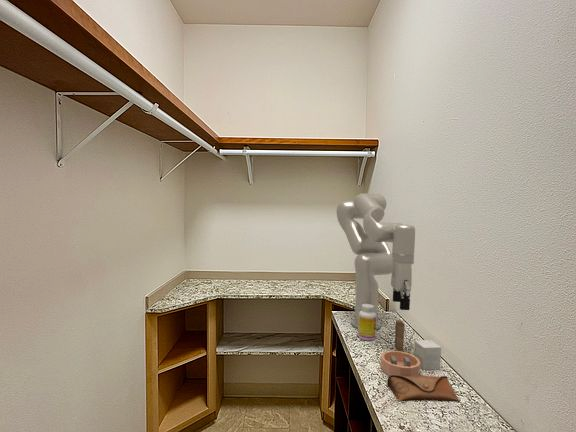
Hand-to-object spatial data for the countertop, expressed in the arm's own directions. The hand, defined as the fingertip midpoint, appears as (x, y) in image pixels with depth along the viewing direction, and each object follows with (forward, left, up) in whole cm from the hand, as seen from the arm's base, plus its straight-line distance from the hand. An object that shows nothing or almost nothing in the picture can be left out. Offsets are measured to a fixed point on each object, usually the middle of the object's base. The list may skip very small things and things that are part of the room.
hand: (400, 305), depth 121 cm
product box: (+11, +6, -16) cm, 21 cm away
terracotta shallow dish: (+16, -4, -16) cm, 23 cm away
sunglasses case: (+29, -1, -17) cm, 33 cm away
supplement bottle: (-9, -10, -16) cm, 21 cm away
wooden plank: (0, 0, -16) cm, 16 cm away
